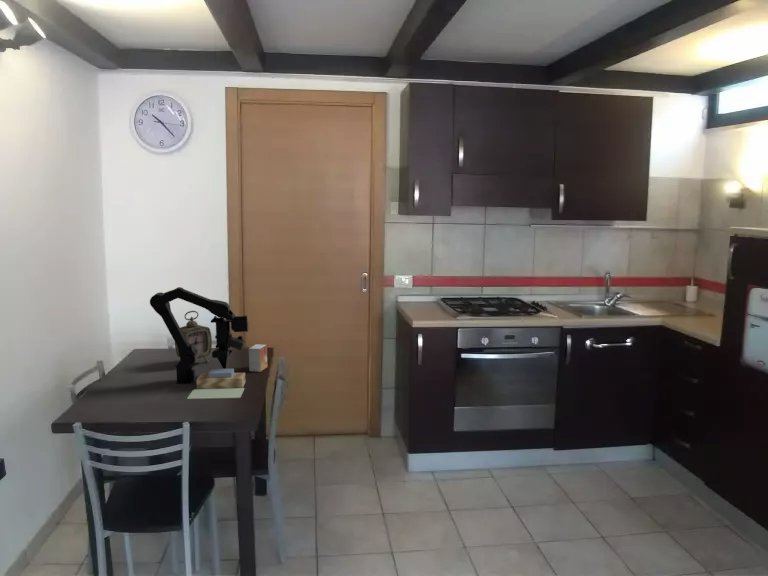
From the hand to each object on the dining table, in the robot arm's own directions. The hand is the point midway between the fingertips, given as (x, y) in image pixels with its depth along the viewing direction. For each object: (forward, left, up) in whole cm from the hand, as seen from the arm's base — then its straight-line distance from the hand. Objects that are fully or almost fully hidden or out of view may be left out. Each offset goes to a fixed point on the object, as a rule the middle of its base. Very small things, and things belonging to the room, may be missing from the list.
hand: (224, 368), depth 247 cm
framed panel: (0, -7, -5) cm, 9 cm away
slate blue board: (0, -7, -1) cm, 7 cm away
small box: (+12, +15, -5) cm, 20 cm away
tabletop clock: (-19, +25, -5) cm, 32 cm away
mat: (0, -18, -5) cm, 18 cm away
